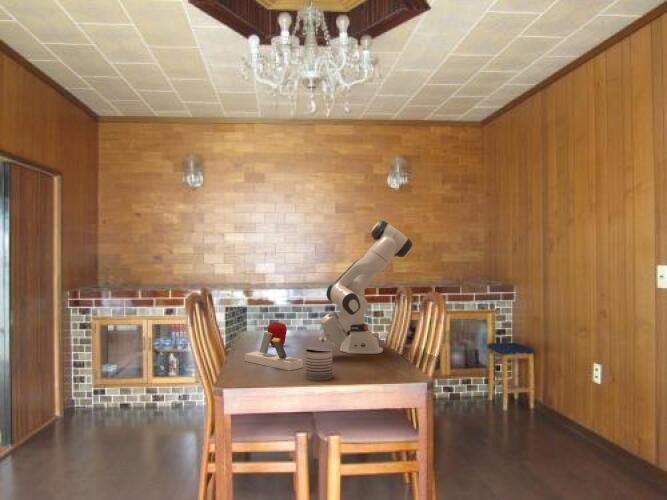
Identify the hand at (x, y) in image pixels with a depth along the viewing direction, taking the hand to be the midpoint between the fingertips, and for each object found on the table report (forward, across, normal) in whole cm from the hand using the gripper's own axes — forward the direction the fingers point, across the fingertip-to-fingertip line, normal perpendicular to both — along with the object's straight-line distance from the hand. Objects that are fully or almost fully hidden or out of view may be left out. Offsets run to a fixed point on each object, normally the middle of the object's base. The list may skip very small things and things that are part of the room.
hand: (320, 341), depth 253 cm
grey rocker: (+25, -10, +9) cm, 28 cm away
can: (+14, -18, -28) cm, 36 cm away
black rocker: (+19, -13, -4) cm, 23 cm away
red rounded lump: (+15, +21, +35) cm, 43 cm away
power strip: (+24, -9, +1) cm, 26 cm away
